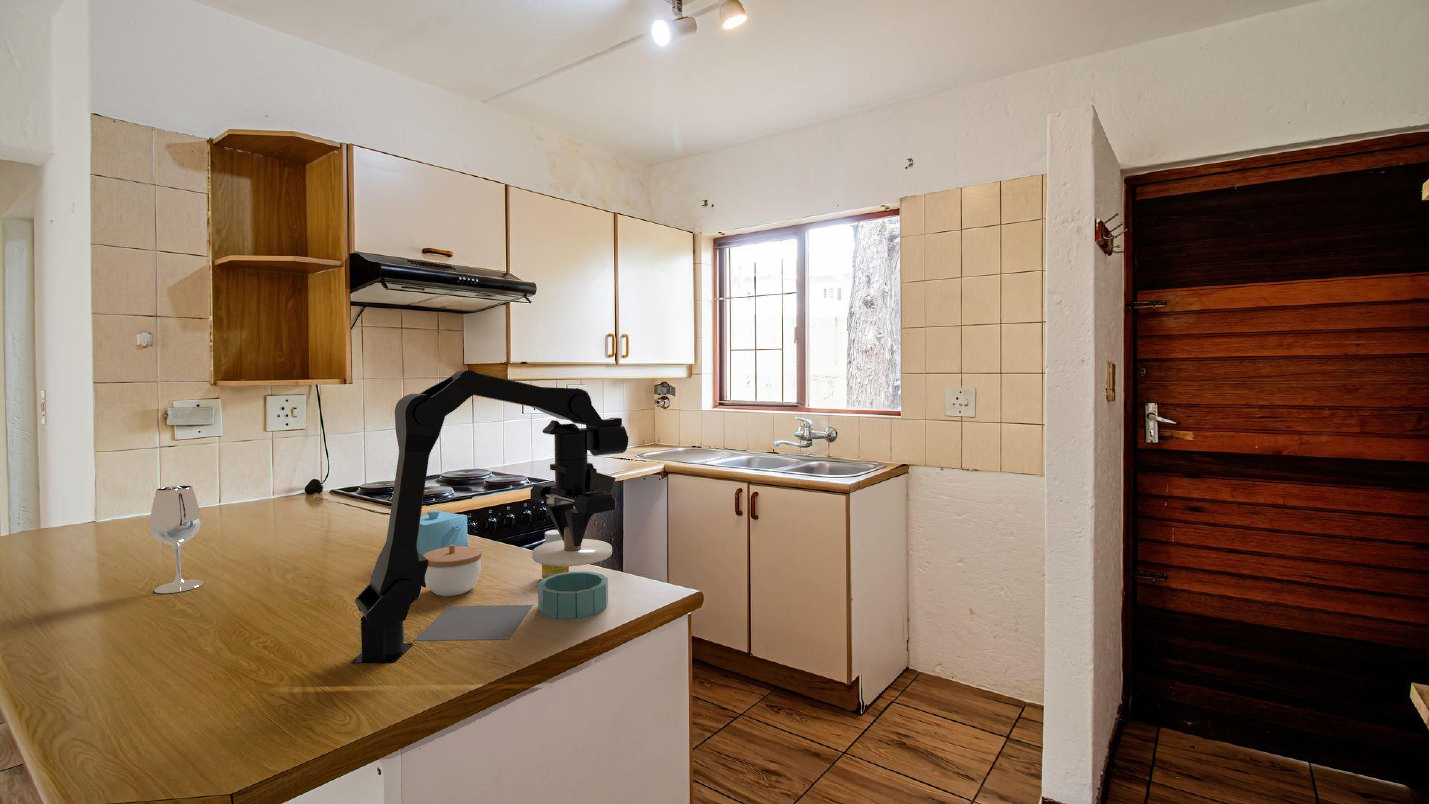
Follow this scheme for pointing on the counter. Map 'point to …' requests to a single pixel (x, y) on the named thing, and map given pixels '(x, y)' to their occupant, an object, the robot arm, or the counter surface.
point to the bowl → (572, 595)
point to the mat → (475, 623)
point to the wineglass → (175, 528)
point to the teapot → (441, 531)
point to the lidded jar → (452, 569)
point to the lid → (571, 552)
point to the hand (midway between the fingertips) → (572, 544)
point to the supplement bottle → (552, 570)
